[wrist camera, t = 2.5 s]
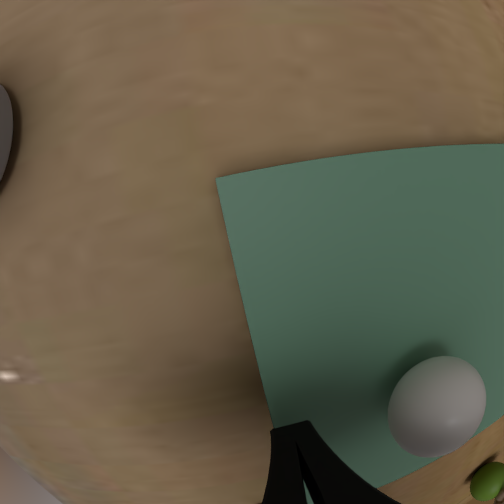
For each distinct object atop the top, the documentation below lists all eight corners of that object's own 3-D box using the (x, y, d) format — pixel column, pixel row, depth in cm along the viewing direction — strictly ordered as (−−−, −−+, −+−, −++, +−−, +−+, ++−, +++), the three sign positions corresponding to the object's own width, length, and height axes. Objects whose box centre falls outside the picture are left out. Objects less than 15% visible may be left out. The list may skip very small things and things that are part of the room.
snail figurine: (456, 492, 22) (493, 547, 10) (470, 469, 20) (516, 529, 9) (485, 472, 22) (524, 521, 10) (500, 447, 20) (547, 499, 9)
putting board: (535, 354, 17) (555, 367, 14) (287, 478, 15) (296, 513, 12) (552, 145, 12) (581, 146, 9) (216, 179, 11) (215, 178, 8)
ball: (441, 394, 11) (488, 443, 7) (369, 427, 11) (407, 492, 7) (453, 324, 10) (518, 371, 6) (372, 358, 10) (429, 429, 6)
